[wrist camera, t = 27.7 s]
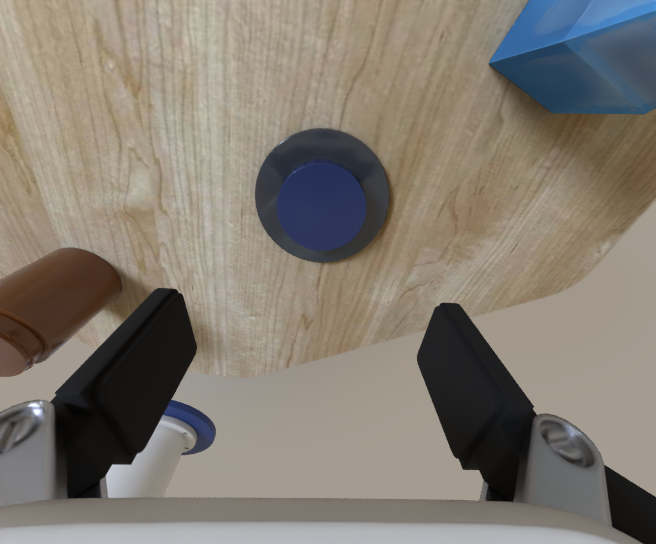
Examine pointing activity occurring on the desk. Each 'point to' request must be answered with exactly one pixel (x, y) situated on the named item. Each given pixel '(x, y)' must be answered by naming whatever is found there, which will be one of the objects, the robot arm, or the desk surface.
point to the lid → (321, 205)
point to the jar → (50, 305)
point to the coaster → (323, 147)
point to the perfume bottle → (584, 55)
